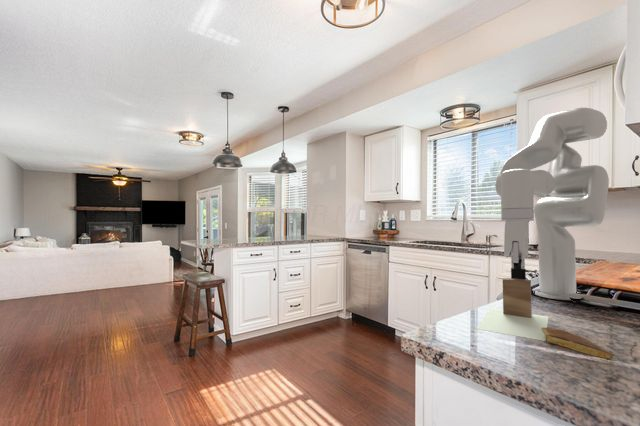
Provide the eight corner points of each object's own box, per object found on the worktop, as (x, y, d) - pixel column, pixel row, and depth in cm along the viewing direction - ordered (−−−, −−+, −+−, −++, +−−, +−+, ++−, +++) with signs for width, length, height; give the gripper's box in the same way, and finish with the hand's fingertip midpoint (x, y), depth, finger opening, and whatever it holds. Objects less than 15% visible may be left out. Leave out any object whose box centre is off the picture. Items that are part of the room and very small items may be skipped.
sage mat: (490, 310, 89) (490, 308, 89) (548, 318, 81) (548, 316, 81) (476, 331, 74) (476, 328, 74) (545, 343, 66) (545, 340, 66)
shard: (613, 363, 57) (614, 353, 57) (566, 356, 58) (567, 346, 58) (574, 339, 68) (575, 331, 68) (535, 334, 69) (535, 326, 69)
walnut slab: (504, 311, 86) (503, 277, 86) (531, 315, 82) (530, 280, 82) (503, 314, 84) (502, 279, 84) (530, 318, 80) (529, 281, 80)
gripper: (505, 215, 96) (506, 277, 96) (496, 215, 84) (498, 286, 84) (535, 215, 91) (537, 280, 91) (531, 215, 79) (532, 290, 79)
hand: (518, 283), depth 87 cm, fingers closed
